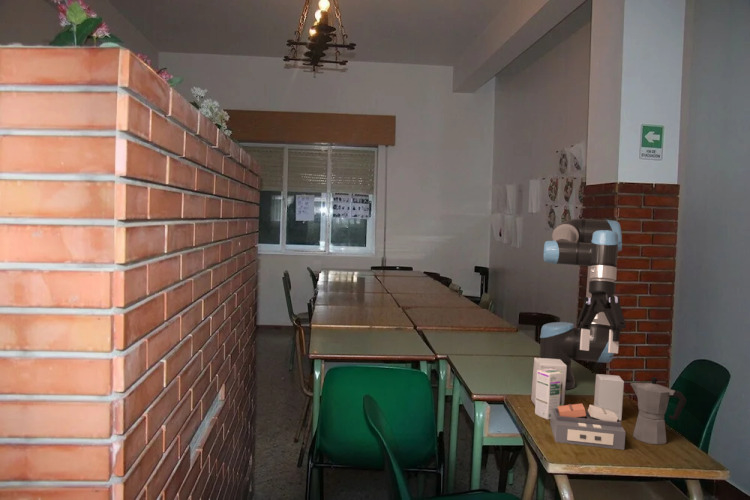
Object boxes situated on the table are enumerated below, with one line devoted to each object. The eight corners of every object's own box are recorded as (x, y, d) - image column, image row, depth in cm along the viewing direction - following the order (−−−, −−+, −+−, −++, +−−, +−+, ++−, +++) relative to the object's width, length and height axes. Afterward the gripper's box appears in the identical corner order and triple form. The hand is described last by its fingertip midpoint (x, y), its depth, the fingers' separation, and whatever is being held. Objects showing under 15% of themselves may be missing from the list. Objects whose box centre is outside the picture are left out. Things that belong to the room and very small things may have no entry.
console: (550, 424, 175) (551, 404, 174) (613, 431, 171) (614, 410, 171) (555, 442, 161) (557, 420, 160) (624, 450, 157) (626, 428, 157)
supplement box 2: (621, 421, 180) (624, 381, 180) (596, 418, 182) (599, 379, 181) (616, 413, 188) (619, 375, 187) (592, 411, 189) (595, 373, 188)
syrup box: (547, 420, 179) (550, 373, 178) (534, 413, 184) (536, 368, 183) (561, 417, 181) (564, 372, 180) (547, 411, 186) (550, 367, 185)
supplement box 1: (536, 408, 189) (539, 363, 188) (530, 400, 198) (533, 357, 197) (564, 410, 188) (567, 365, 187) (557, 401, 197) (560, 358, 196)
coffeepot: (619, 435, 168) (624, 374, 167) (633, 428, 175) (637, 369, 174) (675, 452, 157) (681, 387, 156) (688, 444, 164) (693, 382, 163)
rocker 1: (558, 413, 170) (557, 405, 170) (583, 410, 168) (581, 402, 168) (560, 418, 165) (559, 411, 165) (586, 416, 163) (584, 408, 163)
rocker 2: (587, 410, 168) (590, 403, 168) (612, 418, 167) (614, 411, 167) (590, 416, 163) (593, 409, 163) (615, 424, 162) (618, 417, 162)
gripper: (567, 281, 187) (563, 348, 183) (619, 276, 163) (614, 352, 160) (588, 285, 188) (583, 350, 185) (641, 280, 164) (637, 355, 161)
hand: (598, 351), depth 172 cm, fingers open, 13 cm apart
